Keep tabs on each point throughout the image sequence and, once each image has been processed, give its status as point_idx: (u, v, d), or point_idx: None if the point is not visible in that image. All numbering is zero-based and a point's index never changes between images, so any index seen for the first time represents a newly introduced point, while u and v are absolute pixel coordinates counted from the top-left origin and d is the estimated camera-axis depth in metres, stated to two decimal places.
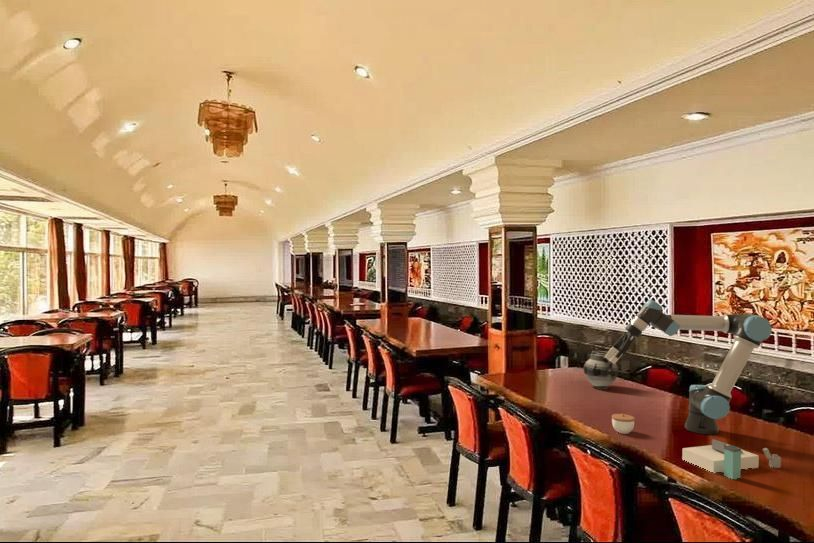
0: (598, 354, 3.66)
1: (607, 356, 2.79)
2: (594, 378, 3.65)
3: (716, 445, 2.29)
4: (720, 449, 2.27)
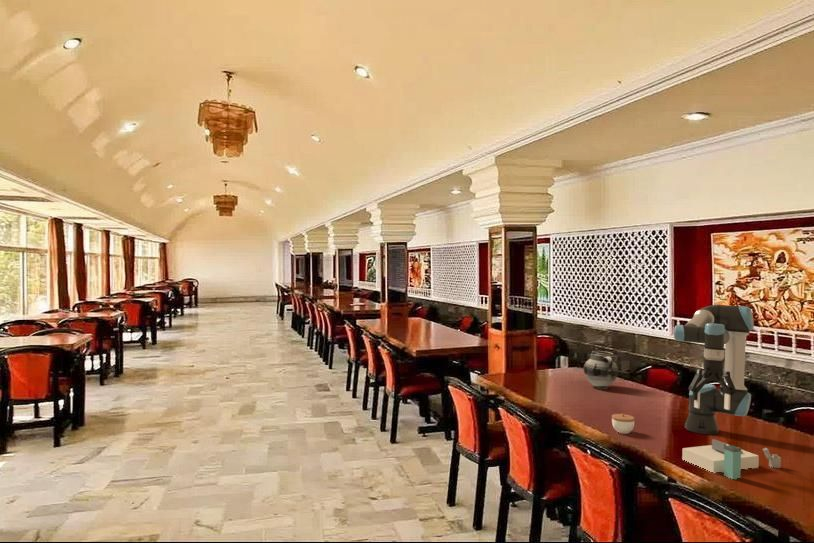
0: (598, 354, 3.66)
1: None
2: (594, 378, 3.65)
3: (716, 445, 2.29)
4: (720, 449, 2.27)
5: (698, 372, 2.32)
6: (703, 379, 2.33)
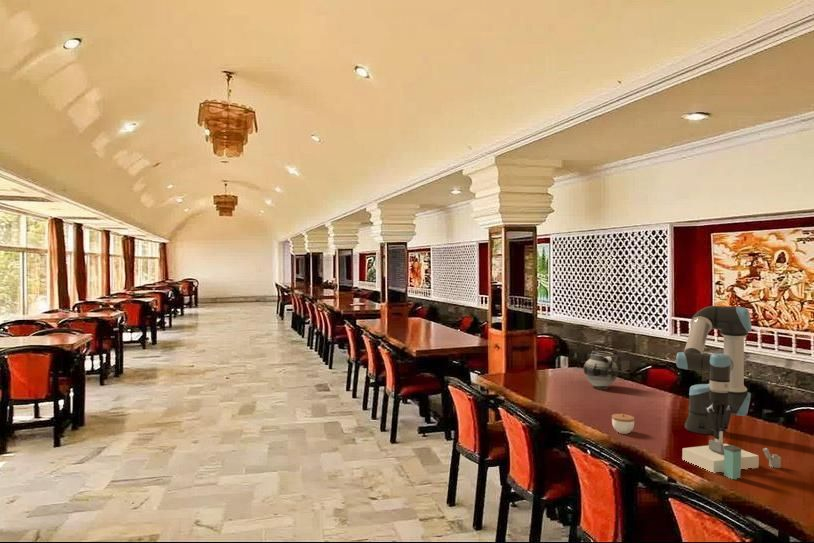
0: (598, 354, 3.66)
1: None
2: (594, 378, 3.65)
3: (713, 445, 2.29)
4: (717, 449, 2.27)
5: (709, 411, 2.26)
6: (715, 415, 2.28)
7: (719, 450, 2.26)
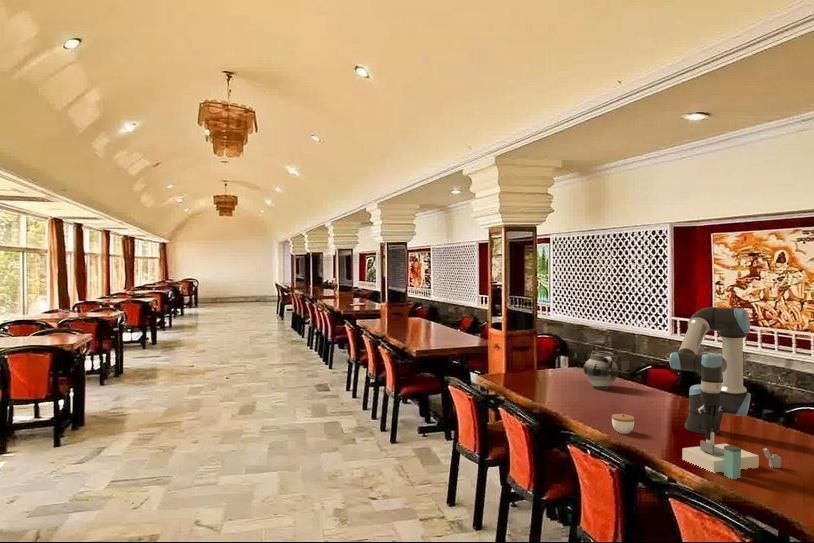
0: (598, 354, 3.66)
1: None
2: (594, 378, 3.65)
3: (704, 446, 2.27)
4: (708, 450, 2.25)
5: (700, 412, 2.25)
6: (707, 415, 2.26)
7: (710, 451, 2.24)
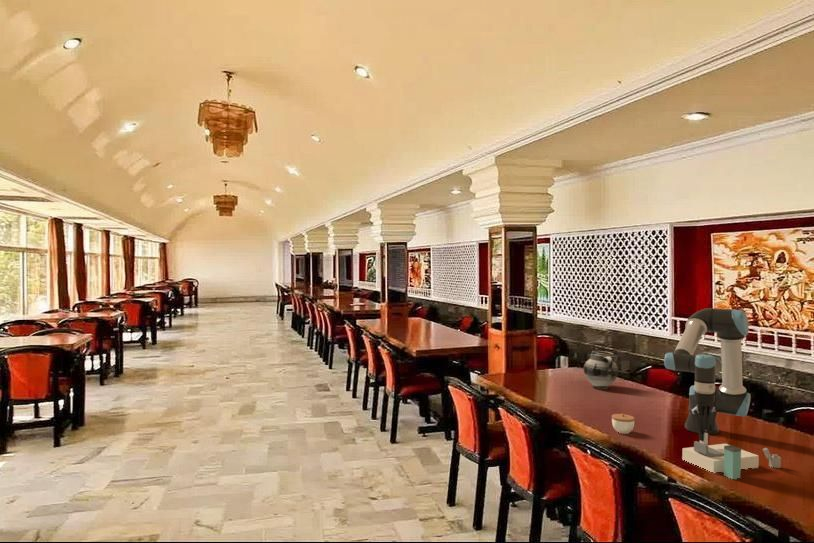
0: (598, 354, 3.66)
1: None
2: (594, 378, 3.65)
3: (698, 447, 2.26)
4: (702, 451, 2.24)
5: (694, 413, 2.24)
6: (700, 416, 2.25)
7: (704, 452, 2.23)
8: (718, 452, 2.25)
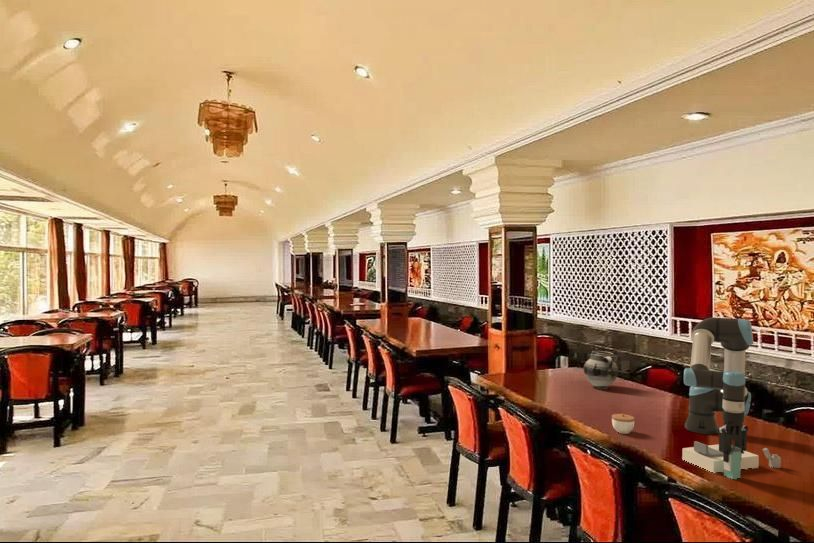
0: (598, 354, 3.66)
1: None
2: (594, 378, 3.65)
3: (698, 447, 2.26)
4: (702, 451, 2.24)
5: (721, 431, 2.12)
6: (727, 436, 2.13)
7: (704, 452, 2.23)
8: (718, 452, 2.25)
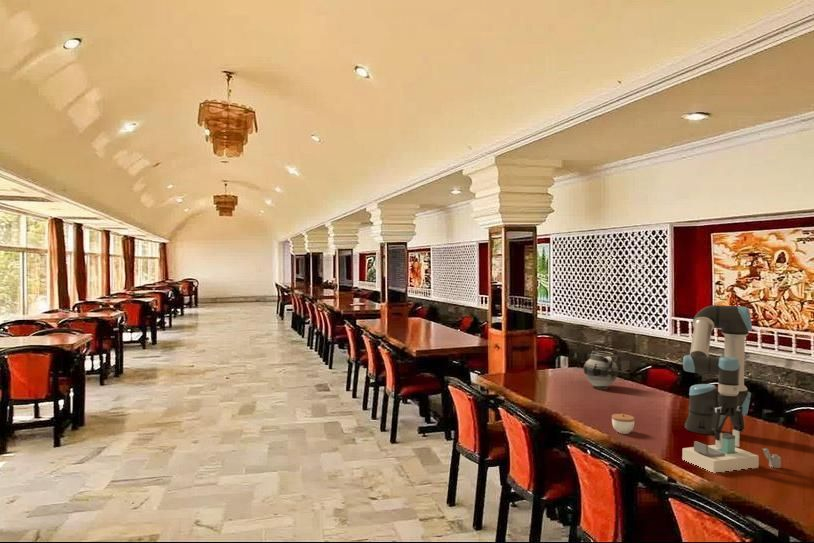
0: (598, 354, 3.66)
1: None
2: (594, 378, 3.65)
3: (698, 447, 2.26)
4: (702, 451, 2.24)
5: (716, 411, 2.27)
6: (721, 416, 2.29)
7: (704, 452, 2.23)
8: (718, 452, 2.25)
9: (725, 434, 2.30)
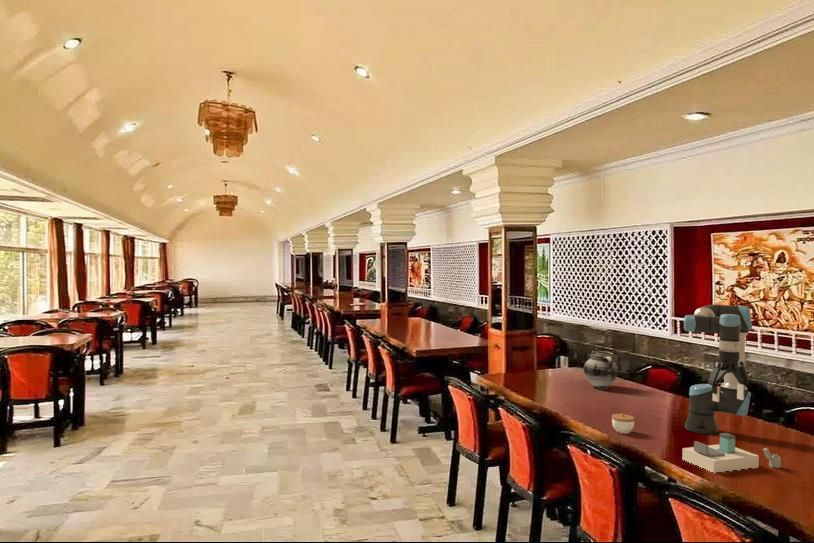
0: (598, 354, 3.66)
1: None
2: (594, 378, 3.65)
3: (698, 447, 2.26)
4: (702, 451, 2.24)
5: (717, 365, 2.27)
6: (721, 372, 2.28)
7: (704, 452, 2.23)
8: (718, 452, 2.25)
9: (725, 434, 2.30)
